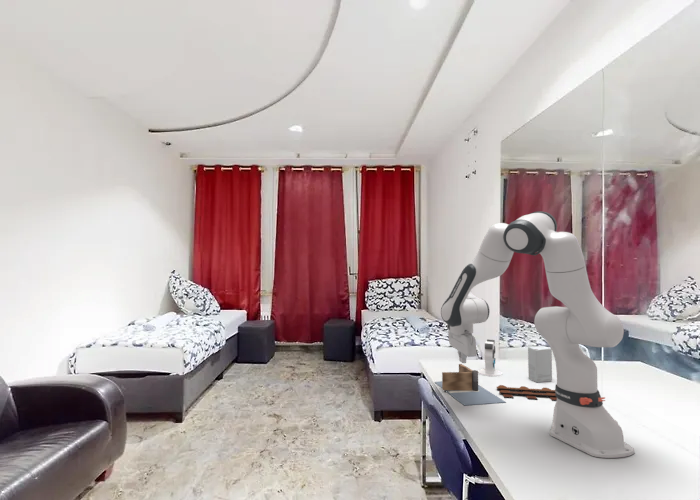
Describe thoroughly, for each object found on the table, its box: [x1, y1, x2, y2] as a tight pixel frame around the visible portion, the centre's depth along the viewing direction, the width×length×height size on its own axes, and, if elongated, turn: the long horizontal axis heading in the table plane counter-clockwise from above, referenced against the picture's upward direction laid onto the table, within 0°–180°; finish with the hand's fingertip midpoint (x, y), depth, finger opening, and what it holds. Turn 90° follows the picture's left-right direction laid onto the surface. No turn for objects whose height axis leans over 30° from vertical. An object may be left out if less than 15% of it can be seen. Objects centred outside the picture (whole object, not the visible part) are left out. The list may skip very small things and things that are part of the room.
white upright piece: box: [477, 339, 503, 377], centre depth 187 cm, size 12×11×15 cm
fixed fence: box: [458, 363, 479, 391], centre depth 167 cm, size 15×2×8 cm, turn 10°
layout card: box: [434, 380, 507, 407], centre depth 160 cm, size 28×17×1 cm, turn 10°
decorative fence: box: [496, 384, 557, 402], centre depth 158 cm, size 23×2×15 cm
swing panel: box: [441, 371, 472, 391], centre depth 161 cm, size 12×1×7 cm, turn 91°
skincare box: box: [527, 345, 553, 383], centre depth 175 cm, size 8×6×15 cm
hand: (462, 362), depth 157 cm, fingers closed
